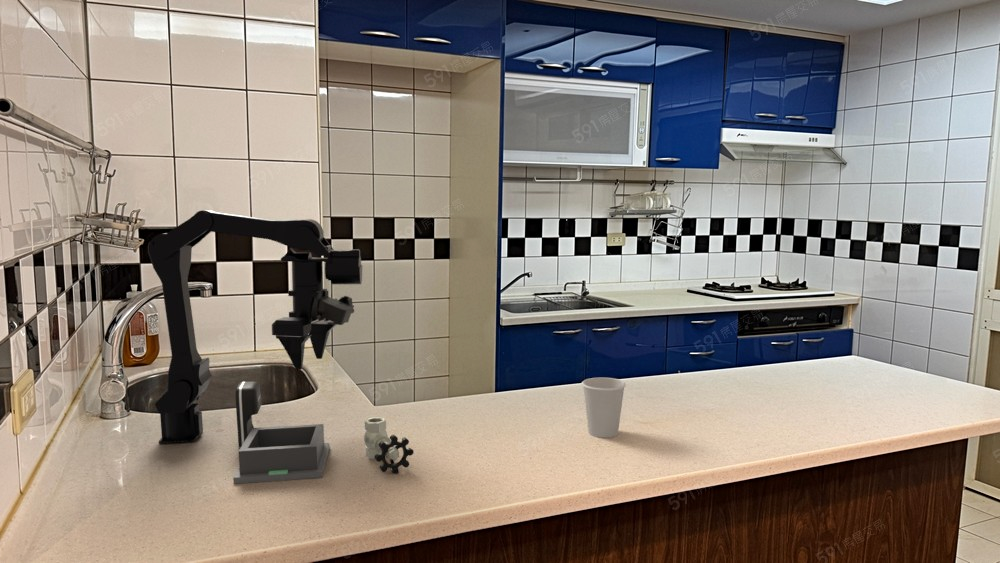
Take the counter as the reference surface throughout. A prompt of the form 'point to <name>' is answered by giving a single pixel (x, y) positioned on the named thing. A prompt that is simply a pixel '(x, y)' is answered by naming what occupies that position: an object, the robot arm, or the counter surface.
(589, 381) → the dixie cup
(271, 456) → the dock
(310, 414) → the counter surface
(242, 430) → the battery charger
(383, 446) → the valve
